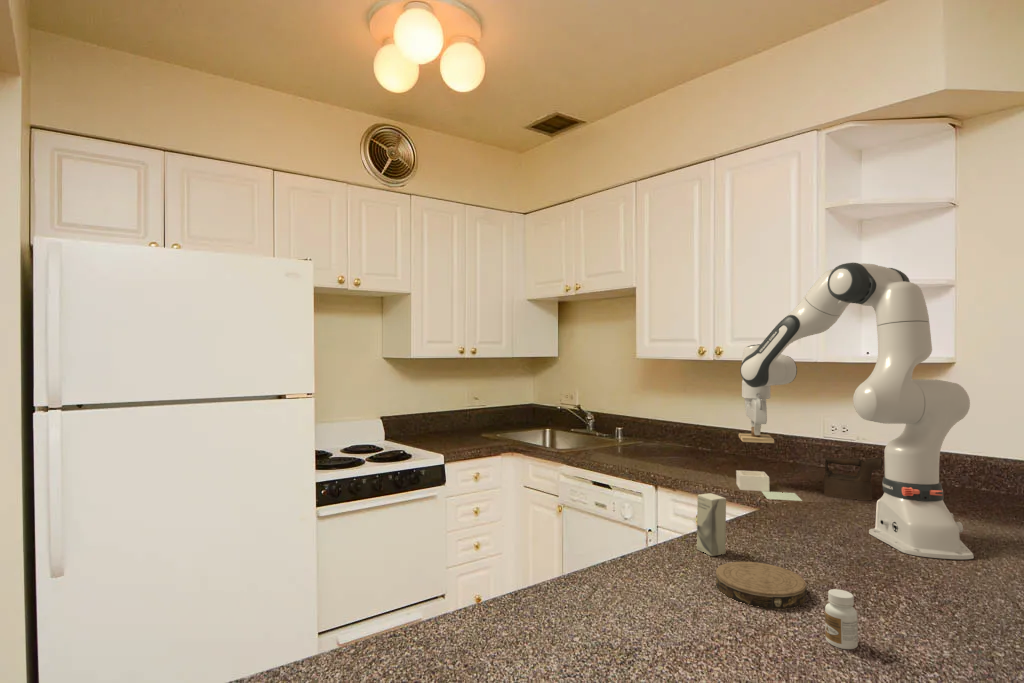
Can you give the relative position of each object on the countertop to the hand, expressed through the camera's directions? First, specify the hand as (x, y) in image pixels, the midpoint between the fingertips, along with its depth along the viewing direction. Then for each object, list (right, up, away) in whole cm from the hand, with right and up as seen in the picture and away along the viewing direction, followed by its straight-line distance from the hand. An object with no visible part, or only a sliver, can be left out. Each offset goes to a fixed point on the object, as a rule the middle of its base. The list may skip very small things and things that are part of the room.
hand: (755, 433), depth 190 cm
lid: (0, -2, 0) cm, 2 cm away
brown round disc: (-34, -17, -81) cm, 90 cm away
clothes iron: (+25, -19, -11) cm, 33 cm away
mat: (+3, -18, -11) cm, 21 cm away
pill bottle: (-30, -17, -101) cm, 107 cm away
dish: (-1, -19, +1) cm, 19 cm away
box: (-36, -18, -60) cm, 72 cm away
